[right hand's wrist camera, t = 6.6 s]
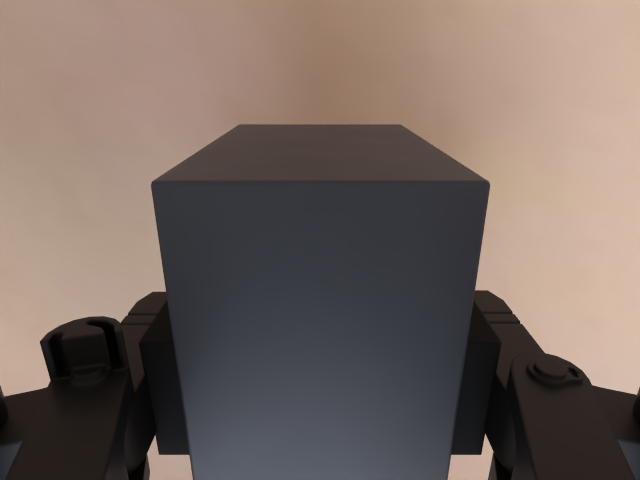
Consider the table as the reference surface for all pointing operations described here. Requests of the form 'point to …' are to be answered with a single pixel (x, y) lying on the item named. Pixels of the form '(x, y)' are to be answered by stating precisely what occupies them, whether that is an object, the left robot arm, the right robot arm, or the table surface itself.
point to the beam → (320, 300)
